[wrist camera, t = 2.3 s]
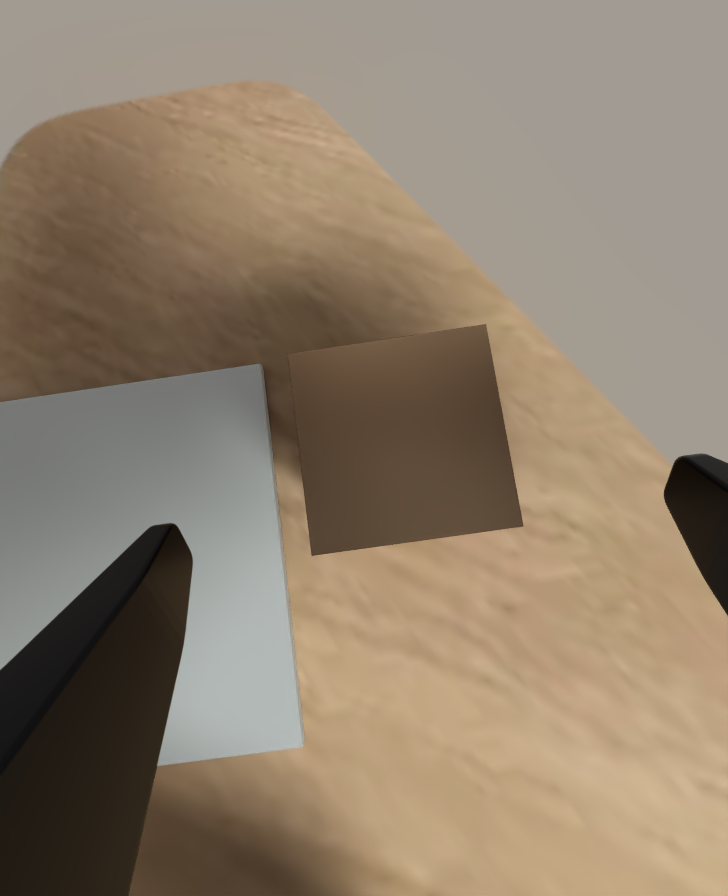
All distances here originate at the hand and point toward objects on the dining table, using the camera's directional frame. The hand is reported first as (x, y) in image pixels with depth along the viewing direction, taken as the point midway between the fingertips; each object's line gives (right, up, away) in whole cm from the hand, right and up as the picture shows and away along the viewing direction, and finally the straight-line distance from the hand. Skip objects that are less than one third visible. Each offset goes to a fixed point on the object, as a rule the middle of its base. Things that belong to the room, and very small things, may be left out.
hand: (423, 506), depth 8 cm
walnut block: (0, 0, +10) cm, 10 cm away
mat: (-10, -3, +9) cm, 14 cm away
